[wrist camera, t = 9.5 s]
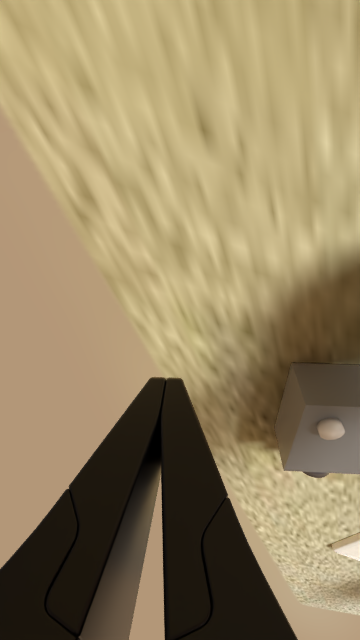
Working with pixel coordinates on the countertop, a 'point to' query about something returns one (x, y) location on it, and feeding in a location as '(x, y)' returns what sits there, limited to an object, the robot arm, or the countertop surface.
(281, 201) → the countertop surface
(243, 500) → the countertop surface
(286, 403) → the camera block
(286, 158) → the countertop surface
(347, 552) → the external hard drive
